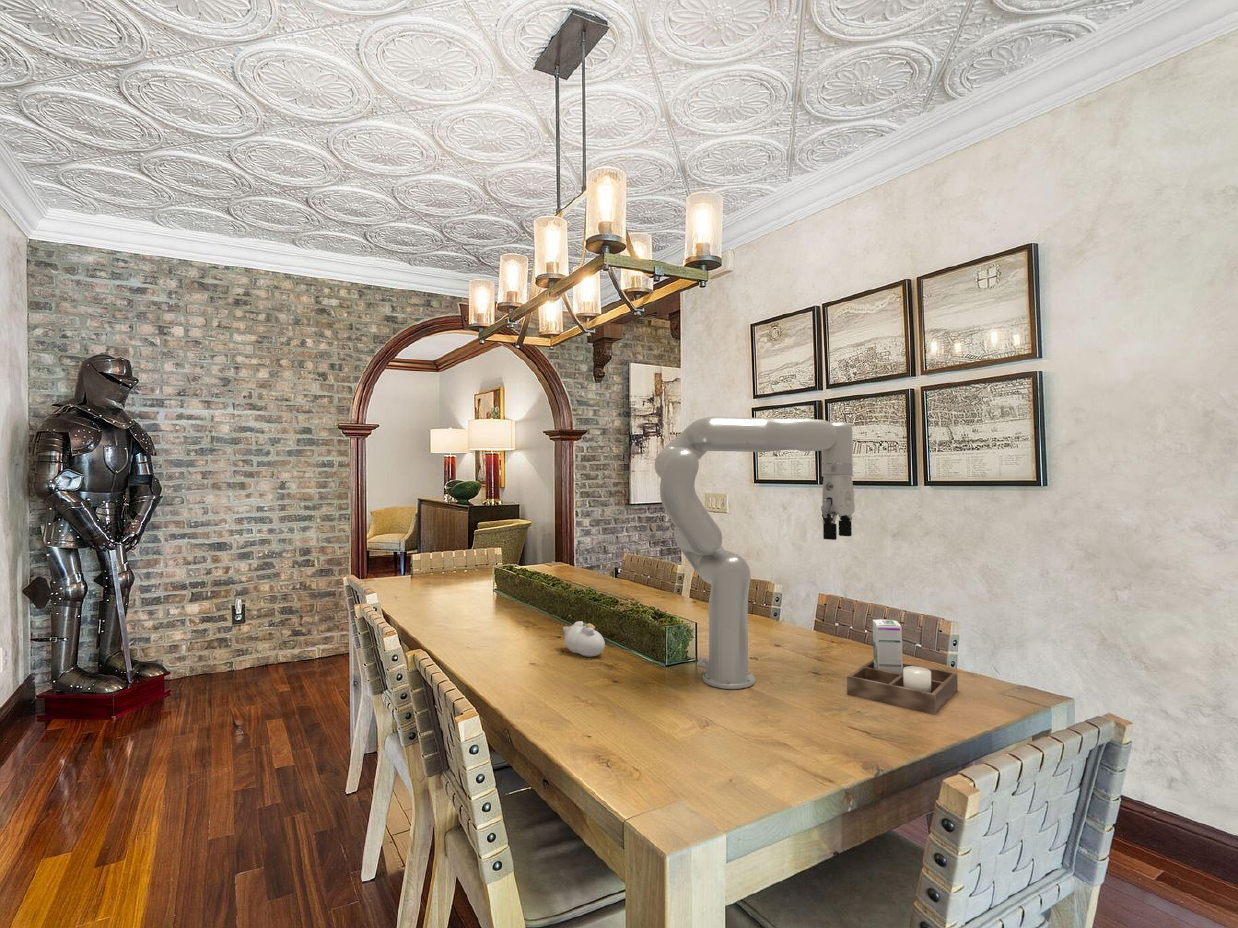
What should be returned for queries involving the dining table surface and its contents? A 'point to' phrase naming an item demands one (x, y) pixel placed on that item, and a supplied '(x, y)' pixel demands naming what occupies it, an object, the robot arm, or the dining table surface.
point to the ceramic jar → (917, 678)
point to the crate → (902, 688)
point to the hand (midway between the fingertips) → (837, 537)
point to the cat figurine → (583, 639)
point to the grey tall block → (887, 645)
